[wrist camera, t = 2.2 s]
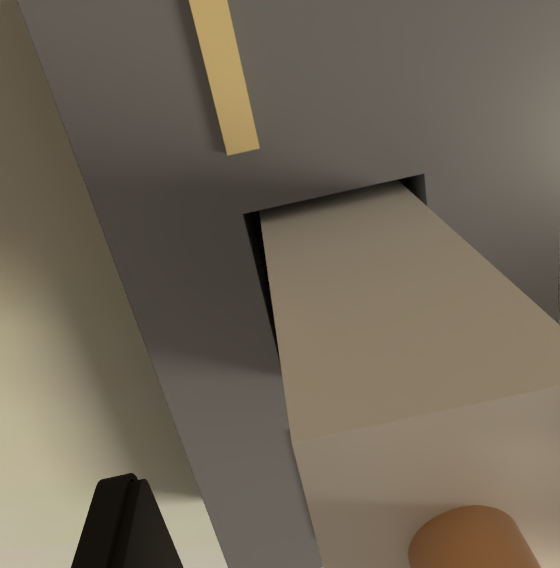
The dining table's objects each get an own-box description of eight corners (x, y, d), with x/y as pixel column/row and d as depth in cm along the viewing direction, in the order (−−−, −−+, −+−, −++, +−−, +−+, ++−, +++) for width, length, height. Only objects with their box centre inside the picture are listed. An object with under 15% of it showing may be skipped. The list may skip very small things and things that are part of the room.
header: (35, -91, 14) (-41, -139, 10) (484, -197, 14) (581, -286, 10) (234, 501, 24) (234, 593, 20) (503, 443, 23) (557, 525, 19)
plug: (255, 188, 17) (361, 945, 3) (376, 161, 17) (1089, 801, 3) (286, 319, 20) (433, 1132, 5) (393, 296, 19) (853, 1051, 5)
